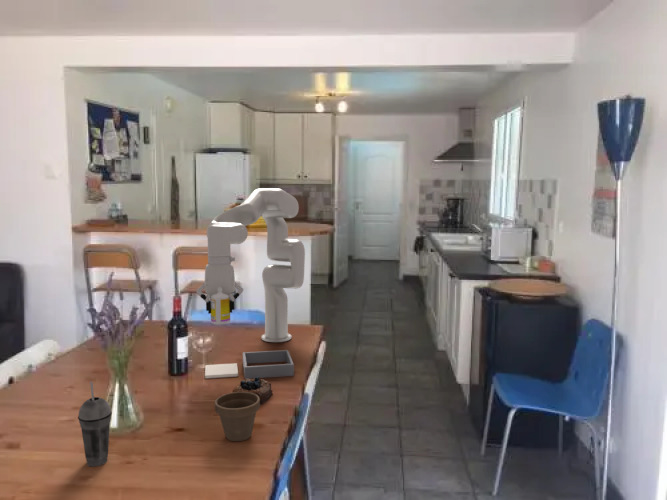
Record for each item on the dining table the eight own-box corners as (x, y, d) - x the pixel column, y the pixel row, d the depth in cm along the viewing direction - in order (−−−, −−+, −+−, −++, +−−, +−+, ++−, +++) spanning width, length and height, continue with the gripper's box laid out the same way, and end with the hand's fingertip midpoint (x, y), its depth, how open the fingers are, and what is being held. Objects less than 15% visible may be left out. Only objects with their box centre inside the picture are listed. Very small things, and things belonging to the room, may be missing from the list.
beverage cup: (118, 454, 134) (114, 374, 132) (107, 469, 127) (103, 385, 125) (87, 454, 134) (83, 374, 132) (74, 469, 127) (70, 385, 125)
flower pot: (217, 449, 137) (216, 410, 136) (213, 429, 148) (213, 393, 147) (263, 443, 140) (263, 405, 139) (256, 424, 151) (256, 389, 150)
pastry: (276, 393, 175) (276, 375, 174) (261, 407, 163) (261, 388, 163) (243, 389, 178) (243, 371, 177) (227, 403, 166) (227, 384, 165)
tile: (205, 367, 197) (205, 365, 197) (237, 365, 199) (236, 363, 199) (204, 378, 186) (204, 375, 186) (238, 376, 189) (237, 373, 188)
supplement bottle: (232, 320, 194) (232, 284, 192) (227, 325, 187) (226, 288, 186) (214, 319, 194) (213, 283, 193) (208, 324, 188) (207, 287, 186)
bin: (242, 363, 202) (242, 352, 202) (288, 360, 206) (287, 350, 205) (244, 378, 186) (244, 367, 186) (293, 375, 190) (293, 364, 189)
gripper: (244, 258, 194) (245, 309, 196) (193, 260, 190) (194, 310, 192) (245, 261, 186) (246, 313, 188) (192, 263, 183) (193, 316, 185)
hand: (220, 311), depth 190 cm, fingers closed on supplement bottle, 6 cm apart
